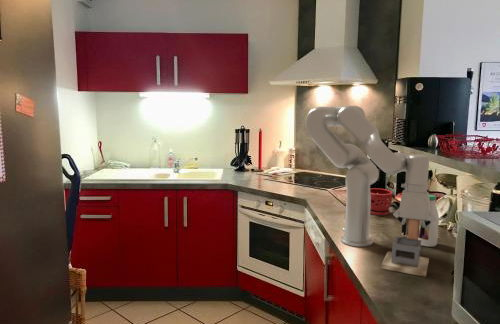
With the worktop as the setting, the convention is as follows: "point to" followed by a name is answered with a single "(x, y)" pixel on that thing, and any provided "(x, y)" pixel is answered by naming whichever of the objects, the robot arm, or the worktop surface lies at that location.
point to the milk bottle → (430, 226)
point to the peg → (413, 229)
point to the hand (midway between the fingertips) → (412, 235)
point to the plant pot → (380, 201)
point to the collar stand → (406, 257)
